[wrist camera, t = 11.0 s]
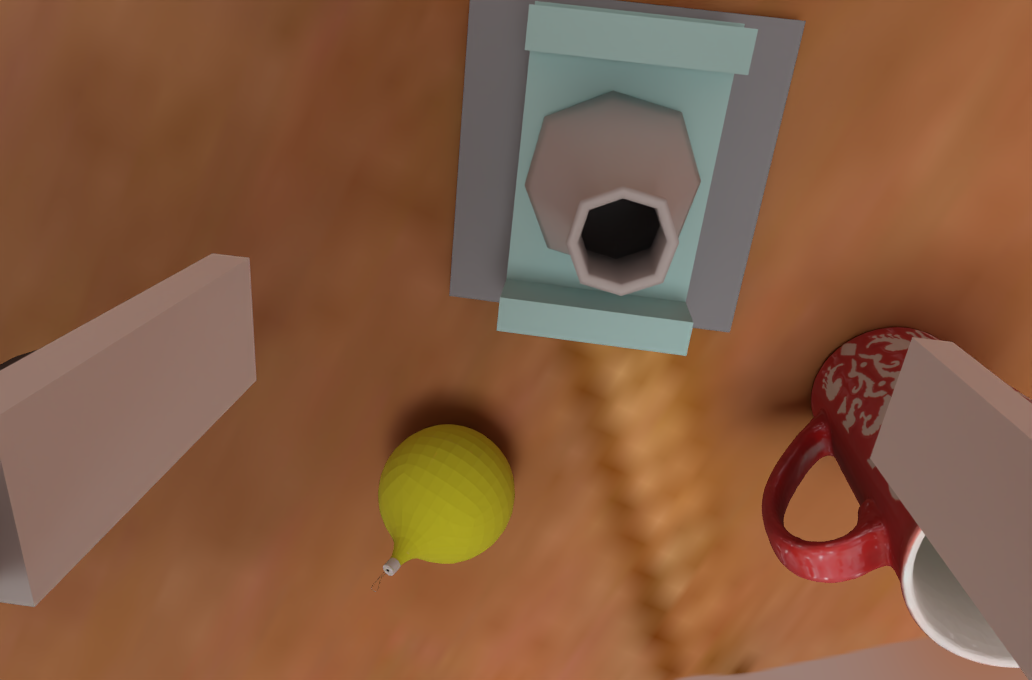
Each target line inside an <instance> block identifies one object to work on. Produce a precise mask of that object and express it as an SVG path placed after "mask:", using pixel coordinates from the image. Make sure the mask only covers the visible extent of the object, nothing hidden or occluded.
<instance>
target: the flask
mask: <svg viewBox="0 0 1032 680" xmlns="http://www.w3.org/2000/svg"><path fill="white" fill-rule="evenodd" d="M700 183H701V179H700V176H699V172H698V168H697V165H696V161H695V158H694V154H693V150H692V147H691V143H690V140H689V136H688V132H687V129H686V125H685V121H684V118H683V114H682V112H679V111H676V110H673V109H670V108H667V107H664V106H660V105H657V104H654V103H651V102H648V101H645V100H641V99H638V98H635V97H632V96H629V95H626V94H622V93H619V92H616V91H610V92H608V93H605V94H602V95H600V96H597V97H595V98H592V99H589V100H587V101H584V102H582V103H579V104H576V105H574V106H571V107H569V108H566V109H563V110H561V111H558V112H556V113H553V114H550V115H548V116H545V117H544V120H543V124H542V127H541V131H540V134H539V137H538V141H537V144H536V148H535V151H534V155H533V158H532V161H531V165H530V168H529V172H528V175H527V178H526V182H525V188H526V191H527V193H528V196H529V199H530V202H531V204H532V207H533V210H534V213H535V215H536V218H537V221H538V224H539V226H540V229H541V232H542V234H543V237H544V240H545V243H546V245H547V248H549V249H552V250H555V251H559V252H562V253H565V254H568V255H570V256H571V259H572V262H573V264H574V267H575V270H576V273H577V276H578V279H579V281H580V284H584V285H587V286H590V287H593V288H597V289H600V290H603V291H606V292H610V293H613V294H616V295H619V296H623V295H626V294H629V293H633V292H636V291H639V290H642V289H645V288H648V287H652V286H655V285H658V284H661V283H663V282H664V279H665V277H666V274H667V272H668V269H669V267H670V264H671V262H672V259H673V257H674V254H675V252H676V249H677V247H678V244H679V239H678V238H679V236H680V233H681V231H682V228H683V226H684V223H685V220H686V218H687V215H688V213H689V210H690V208H691V205H692V203H693V200H694V198H695V195H696V193H697V190H698V188H699V185H700Z"/></svg>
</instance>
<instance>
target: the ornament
mask: <svg viewBox="0 0 1032 680" xmlns="http://www.w3.org/2000/svg"><path fill="white" fill-rule="evenodd" d="M514 497H515V491H514V479H513V475H512V471H511V468H510V465H509V463H508V461H507V459H506V457H505V456H504V455H503V453H502V452H501V450H500V449H499V448H498V447H497V446H496V445H495V444H494V443H493V442H492V441H491V440H490V439H488V438H487V437H486V436H484V435H483V434H481V433H479V432H477V431H475V430H473V429H470V428H467V427H464V426H459V425H454V424H442V425H436V426H432V427H428V428H425V429H423V430H421V431H419V432H417V433H415V434H413V435H411V436H409V437H408V438H407V439H406V440H404V441H403V442H402V443H401V444H400V445H399V446H398V447H397V448H396V449H395V450H394V451H393V453H392V454H391V455H390V457H389V459H388V460H387V462H386V464H385V466H384V469H383V471H382V474H381V478H380V483H379V490H378V500H379V510H380V513H381V516H382V519H383V521H384V524H385V527H386V528H387V530H388V532H389V533H390V535H391V537H392V538H393V541H394V550H393V553H392V556H391V558H390V559H389V560H388V561H387V563H386V564H385V565H384V566H383V570H384V571H385V574H388V575H390V576H392V575H393V574H394V573H395V572H396V571H397V570H398V569H399V568H400V566H401V565H402V564H403V563H405V562H407V561H408V560H411V559H414V558H418V559H422V560H425V561H428V562H434V563H441V564H453V563H457V562H462V561H465V560H469V559H471V558H473V557H475V556H477V555H479V554H481V553H482V552H484V551H485V550H486V549H488V548H489V547H490V546H491V545H493V544H494V543H495V541H496V540H497V539H498V538H499V537H500V535H501V534H502V533H503V531H504V530H505V528H506V526H507V523H508V521H509V519H510V517H511V514H512V510H513V504H514ZM385 574H384V575H385ZM379 578H380V577H379ZM379 578H378V579H379ZM381 578H382V577H381ZM378 579H377V580H378ZM380 580H381V579H380ZM379 584H380V583H379ZM372 586H373V585H372ZM378 588H379V587H378ZM375 592H376V591H375Z"/></svg>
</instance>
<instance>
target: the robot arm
mask: <svg viewBox="0 0 1032 680" xmlns="http://www.w3.org/2000/svg"><path fill="white" fill-rule="evenodd" d="M255 381H256V364H255V347H254V329H253V311H252V293H251V275H250V258H247V257H238V256H230V255H222V254H213V253H212V254H210V255H209V256H207V257H205V258H203V259H201V260H199V261H198V262H196V263H194V264H192V265H190V266H189V267H187V268H185V269H183V270H181V271H180V272H178V273H176V274H174V275H172V276H171V277H169V278H167V279H165V280H163V281H161V282H160V283H158V284H156V285H154V286H152V287H151V288H149V289H147V290H145V291H143V292H142V293H140V294H138V295H136V296H134V297H133V298H131V299H129V300H127V301H125V302H123V303H122V304H120V305H118V306H116V307H114V308H113V309H111V310H109V311H107V312H105V313H104V314H102V315H100V316H98V317H96V318H95V319H93V320H91V321H89V322H87V323H85V324H84V325H82V326H80V327H78V328H76V329H75V330H73V331H71V332H69V333H67V334H66V335H64V336H62V337H60V338H58V339H57V340H55V341H53V342H51V343H49V344H47V345H46V346H44V347H42V348H40V349H38V350H35V351H32V352H29V353H26V354H23V355H19V356H16V357H14V358H12V359H10V360H8V361H6V362H5V363H3V364H1V365H0V602H3V603H10V604H17V605H24V606H31V607H35V606H36V605H37V604H38V603H39V602H40V601H41V600H42V599H43V598H44V597H45V596H46V595H47V594H48V593H49V592H50V591H51V590H52V589H53V588H54V587H55V586H56V585H57V584H58V583H59V582H60V581H61V580H62V579H63V577H64V576H65V575H66V574H67V573H68V572H69V571H70V570H71V569H72V568H73V567H74V566H75V565H76V564H77V563H78V562H79V561H80V560H81V559H82V558H83V557H84V556H85V555H86V554H87V553H88V552H89V551H90V550H91V549H92V548H93V547H94V546H95V545H96V544H97V543H98V542H99V541H100V540H101V539H102V538H103V537H104V536H105V535H106V534H107V533H108V532H109V530H110V529H111V528H112V527H113V526H114V525H115V524H116V523H117V522H118V521H119V520H120V519H121V518H122V517H123V516H124V515H125V514H126V513H127V512H128V511H129V510H130V509H131V508H132V507H133V506H134V505H135V504H136V503H137V502H138V501H139V500H140V499H141V498H142V497H143V496H144V495H145V494H146V493H147V492H148V491H149V490H150V489H151V488H152V487H153V486H154V484H155V483H156V482H157V481H158V480H159V479H160V478H161V477H162V476H163V475H164V474H165V473H166V472H167V471H168V470H169V469H170V468H171V467H172V466H173V465H174V464H175V463H176V462H177V461H178V460H179V459H180V458H181V457H182V456H183V455H184V454H185V453H186V452H187V451H188V450H189V449H190V448H191V447H192V446H193V445H194V444H195V443H196V442H197V441H198V440H199V438H200V437H201V436H202V435H203V434H204V433H205V432H206V431H207V430H208V429H209V428H210V427H211V426H212V425H213V424H214V423H215V422H216V421H217V420H218V419H219V418H220V417H221V416H222V415H223V414H224V413H225V412H226V411H227V410H228V409H229V408H230V407H231V406H232V405H233V404H234V403H235V402H236V401H237V400H238V399H239V398H240V397H241V396H242V395H243V394H244V393H245V391H246V390H247V389H248V388H249V387H250V386H251V385H252V384H253V383H254V382H255ZM870 459H871V460H872V462H873V463H874V464H875V466H876V467H877V468H878V470H879V471H880V473H881V474H882V475H883V477H884V478H885V480H886V481H887V482H888V484H889V485H890V487H891V488H892V489H893V491H894V492H895V494H896V495H897V496H898V498H899V499H900V501H901V502H902V503H903V505H904V506H905V508H906V509H907V510H908V512H909V513H910V515H911V516H912V517H913V519H914V520H915V522H916V523H917V524H918V526H919V527H920V529H921V530H922V531H923V533H924V534H925V536H926V537H927V538H928V540H929V541H930V543H931V544H932V545H933V547H934V548H935V550H936V551H937V552H938V554H939V555H940V557H941V558H942V559H943V561H944V562H945V564H946V565H947V566H948V568H949V569H950V571H951V572H952V573H953V575H954V576H955V577H956V579H957V580H958V582H959V583H960V584H961V586H962V587H963V589H964V590H965V591H966V593H967V594H968V596H969V597H970V598H971V600H972V601H973V603H974V604H975V605H976V607H977V608H978V610H979V611H980V612H981V614H982V615H983V617H984V618H985V619H986V621H987V622H988V624H989V625H990V626H991V628H992V629H993V631H994V632H995V633H996V635H997V636H998V638H999V639H1000V640H1001V642H1002V643H1003V645H1004V646H1005V647H1006V649H1007V650H1008V652H1009V653H1010V654H1011V656H1012V657H1013V659H1014V660H1015V661H1016V663H1017V664H1018V666H1019V667H1020V668H1021V670H1022V671H1023V673H1024V674H1025V675H1026V677H1027V678H1028V679H1029V680H1032V403H1030V402H1029V401H1028V400H1027V399H1025V398H1024V397H1023V396H1021V395H1020V394H1019V393H1018V392H1016V391H1015V390H1014V389H1012V388H1011V387H1010V386H1009V385H1007V384H1006V383H1005V382H1003V381H1002V380H1001V379H1000V378H998V377H997V376H996V375H994V374H993V373H992V372H991V371H989V370H988V369H987V368H985V367H984V366H983V365H982V364H980V363H979V362H978V361H976V360H975V359H974V358H973V357H971V356H970V355H969V354H967V353H966V352H965V351H964V350H962V349H961V348H960V347H958V346H957V345H956V344H955V343H953V342H949V341H941V340H932V339H924V338H916V337H912V340H911V342H910V345H909V348H908V351H907V354H906V357H905V360H904V362H903V365H902V368H901V371H900V374H899V377H898V380H897V382H896V385H895V388H894V391H893V394H892V397H891V400H890V402H889V405H888V408H887V411H886V414H885V417H884V420H883V422H882V425H881V428H880V431H879V434H878V437H877V440H876V442H875V445H874V448H873V451H872V454H871V457H870Z"/></svg>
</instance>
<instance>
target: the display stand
mask: <svg viewBox="0 0 1032 680" xmlns="http://www.w3.org/2000/svg"><path fill="white" fill-rule="evenodd" d="M805 22H806V21H800V20H791V19H782V18H772V17H763V16H754V15H745V14H736V13H727V12H717V11H708V10H699V9H690V8H681V7H671V6H662V5H653V4H644V3H635V2H625V1H616V0H470V6H469V20H468V35H467V49H466V64H465V78H464V93H463V107H462V122H461V136H460V150H459V165H458V179H457V194H456V208H455V223H454V237H453V252H452V266H451V280H450V295H449V296H455V297H463V298H470V299H478V300H486V301H493V302H499V312H498V322H497V331H503V332H511V333H518V334H526V335H533V336H541V337H548V338H556V339H563V340H571V341H579V342H586V343H594V344H601V345H609V346H616V347H624V348H631V349H639V350H646V351H654V352H661V353H669V354H676V355H684V356H686V355H687V350H688V345H689V341H690V336H691V332H692V328H700V329H707V330H715V331H723V332H730V329H731V325H732V321H733V317H734V312H735V308H736V304H737V300H738V296H739V292H740V288H741V284H742V280H743V276H744V272H745V267H746V263H747V259H748V255H749V251H750V247H751V243H752V239H753V235H754V231H755V226H756V222H757V218H758V214H759V210H760V206H761V202H762V198H763V194H764V190H765V186H766V181H767V177H768V173H769V169H770V165H771V161H772V157H773V153H774V149H775V145H776V140H777V136H778V132H779V128H780V124H781V120H782V116H783V112H784V108H785V104H786V100H787V95H788V91H789V87H790V83H791V79H792V75H793V71H794V67H795V63H796V59H797V54H798V50H799V46H800V42H801V38H802V34H803V30H804V26H805ZM610 91H616V92H619V93H622V94H626V95H629V96H632V97H635V98H638V99H641V100H645V101H648V102H651V103H654V104H657V105H660V106H664V107H667V108H670V109H673V110H676V111H679V112H682V114H683V118H684V121H685V125H686V129H687V132H688V136H689V140H690V143H691V147H692V150H693V154H694V158H695V161H696V165H697V168H698V172H699V176H700V179H701V183H700V185H699V188H698V190H697V193H696V195H695V198H694V200H693V203H692V205H691V208H690V210H689V213H688V215H687V218H686V220H685V223H684V226H683V228H682V231H681V233H680V236H679V238H678V239H679V244H678V247H677V249H676V252H675V254H674V257H673V259H672V262H671V264H670V267H669V269H668V272H667V274H666V277H665V279H664V282H663V283H661V284H658V285H655V286H652V287H648V288H645V289H642V290H639V291H636V292H633V293H629V294H626V295H623V296H619V295H616V294H613V293H610V292H606V291H603V290H600V289H597V288H593V287H590V286H587V285H584V284H580V281H579V279H578V276H577V273H576V270H575V267H574V264H573V262H572V259H571V256H570V255H568V254H565V253H562V252H559V251H555V250H552V249H549V248H547V245H546V243H545V240H544V237H543V234H542V232H541V229H540V226H539V224H538V221H537V218H536V215H535V213H534V210H533V207H532V204H531V202H530V199H529V196H528V193H527V191H526V188H525V182H526V178H527V175H528V172H529V168H530V165H531V161H532V158H533V155H534V151H535V148H536V144H537V141H538V137H539V134H540V131H541V127H542V124H543V120H544V117H545V116H548V115H550V114H553V113H556V112H558V111H561V110H563V109H566V108H569V107H571V106H574V105H576V104H579V103H582V102H584V101H587V100H589V99H592V98H595V97H597V96H600V95H602V94H605V93H608V92H610Z"/></svg>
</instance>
